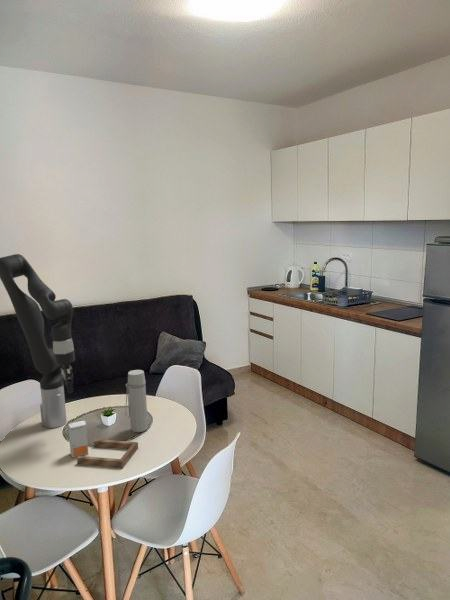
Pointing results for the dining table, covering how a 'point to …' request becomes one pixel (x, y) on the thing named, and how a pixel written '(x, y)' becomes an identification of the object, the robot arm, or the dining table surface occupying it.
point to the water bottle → (137, 400)
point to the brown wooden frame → (110, 462)
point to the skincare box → (78, 438)
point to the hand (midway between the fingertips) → (68, 389)
